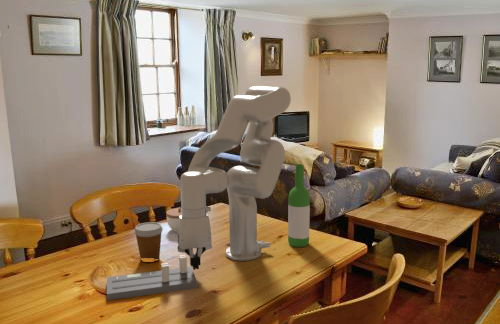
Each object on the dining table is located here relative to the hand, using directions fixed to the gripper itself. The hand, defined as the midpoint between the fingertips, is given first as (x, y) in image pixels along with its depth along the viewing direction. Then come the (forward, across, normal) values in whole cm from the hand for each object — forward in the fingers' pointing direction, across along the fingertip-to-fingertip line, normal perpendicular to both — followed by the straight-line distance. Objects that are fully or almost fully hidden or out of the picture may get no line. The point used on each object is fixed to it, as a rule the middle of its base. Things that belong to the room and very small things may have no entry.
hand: (195, 267), depth 148 cm
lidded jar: (+3, -1, -44) cm, 44 cm away
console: (+3, +14, +2) cm, 14 cm away
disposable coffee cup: (+3, +13, -18) cm, 22 cm away
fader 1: (+1, +10, +4) cm, 11 cm away
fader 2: (+1, +4, 0) cm, 4 cm away
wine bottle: (+3, -41, -16) cm, 44 cm away
